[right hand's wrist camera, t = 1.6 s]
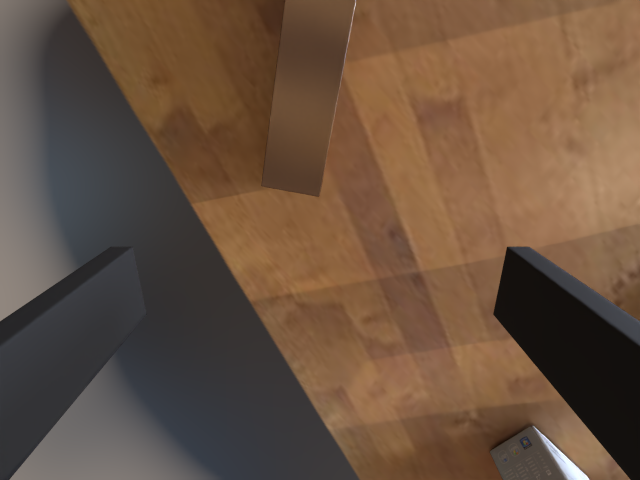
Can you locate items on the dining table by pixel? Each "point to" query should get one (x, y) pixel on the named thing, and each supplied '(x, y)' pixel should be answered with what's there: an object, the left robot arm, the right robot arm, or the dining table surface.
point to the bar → (306, 92)
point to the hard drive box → (533, 459)
